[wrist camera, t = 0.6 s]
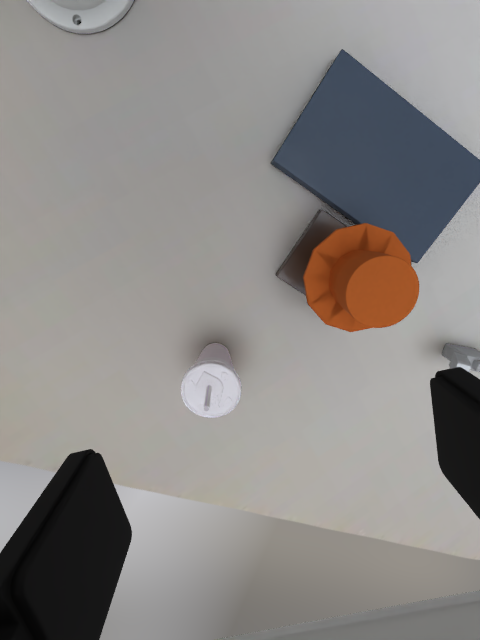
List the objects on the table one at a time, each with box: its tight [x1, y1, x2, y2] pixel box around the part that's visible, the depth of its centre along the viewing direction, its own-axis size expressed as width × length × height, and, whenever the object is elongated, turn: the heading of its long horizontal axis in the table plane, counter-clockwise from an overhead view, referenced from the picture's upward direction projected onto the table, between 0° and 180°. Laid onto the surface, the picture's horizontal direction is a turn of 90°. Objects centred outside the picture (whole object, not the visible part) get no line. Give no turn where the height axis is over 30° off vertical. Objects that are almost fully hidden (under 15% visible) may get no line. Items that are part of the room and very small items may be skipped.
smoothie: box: [181, 343, 242, 418], centre depth 40 cm, size 6×6×14 cm
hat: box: [303, 223, 419, 332], centre depth 30 cm, size 10×10×6 cm
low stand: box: [271, 49, 480, 263], centre depth 39 cm, size 20×12×2 cm, turn 57°
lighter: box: [442, 343, 480, 372], centre depth 43 cm, size 7×2×8 cm, turn 79°
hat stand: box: [276, 210, 347, 295], centre depth 37 cm, size 9×9×14 cm
